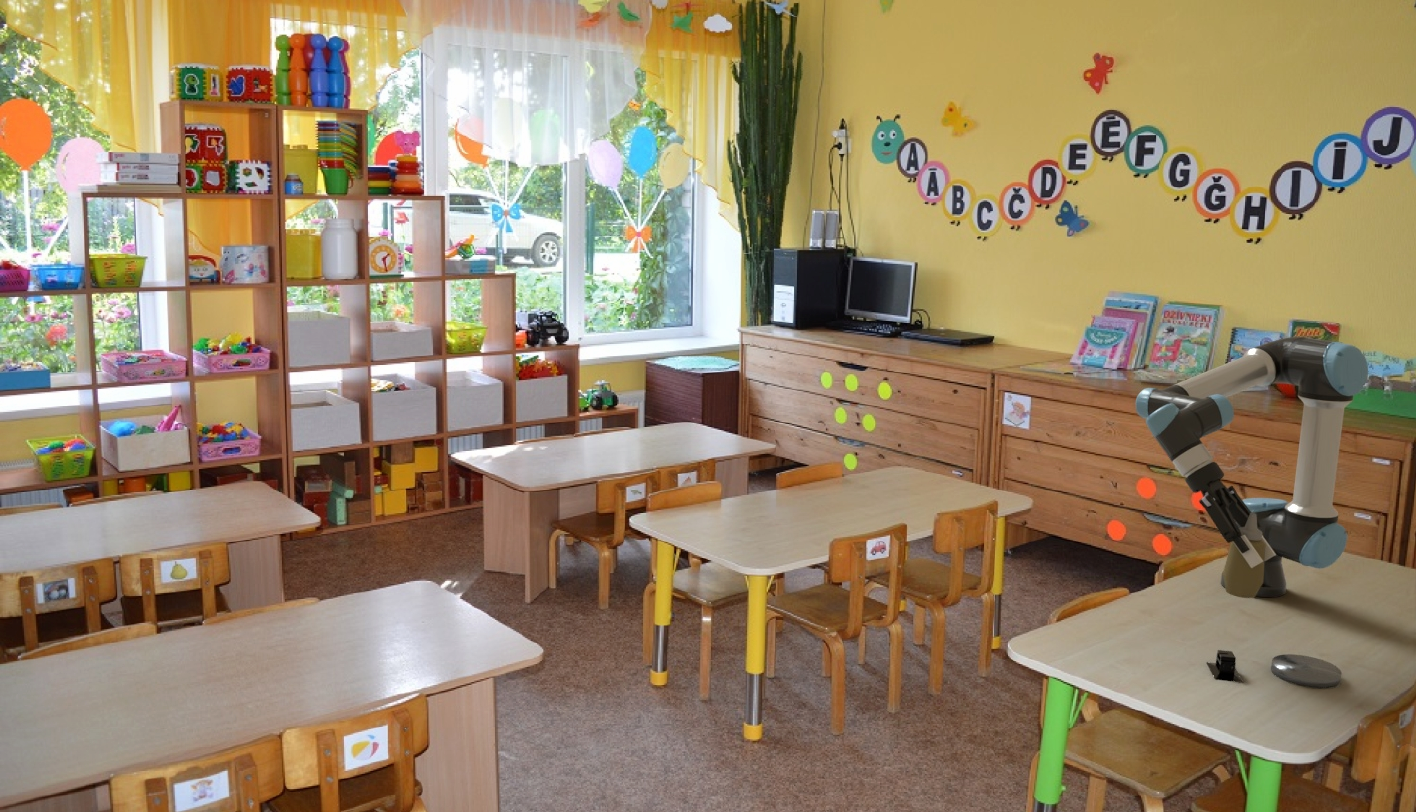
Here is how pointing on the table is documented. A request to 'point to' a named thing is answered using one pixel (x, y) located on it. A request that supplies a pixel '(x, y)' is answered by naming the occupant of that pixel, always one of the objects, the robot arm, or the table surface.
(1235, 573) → the squeeze bottle
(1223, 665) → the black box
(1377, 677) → the table surface
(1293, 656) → the cap
